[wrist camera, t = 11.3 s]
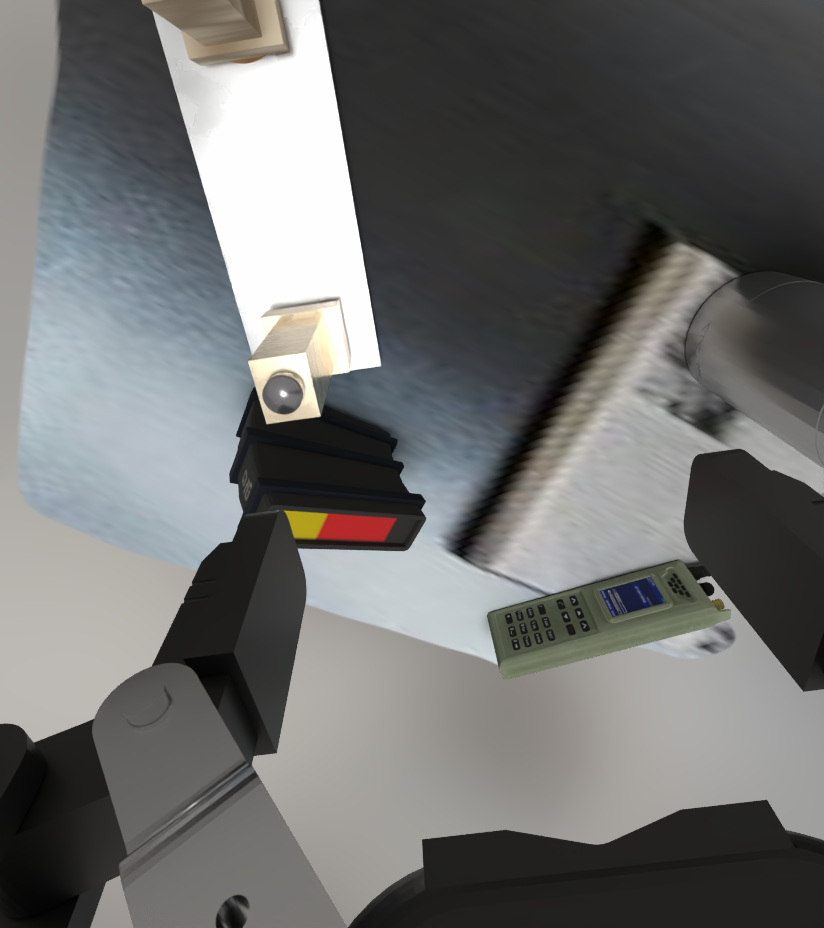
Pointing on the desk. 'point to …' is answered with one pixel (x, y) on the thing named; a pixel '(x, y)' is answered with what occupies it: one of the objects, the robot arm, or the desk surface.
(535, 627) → the handheld radio
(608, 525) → the desk surface
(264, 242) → the bolt-hole plate
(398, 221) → the desk surface
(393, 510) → the black boxy piece
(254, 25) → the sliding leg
